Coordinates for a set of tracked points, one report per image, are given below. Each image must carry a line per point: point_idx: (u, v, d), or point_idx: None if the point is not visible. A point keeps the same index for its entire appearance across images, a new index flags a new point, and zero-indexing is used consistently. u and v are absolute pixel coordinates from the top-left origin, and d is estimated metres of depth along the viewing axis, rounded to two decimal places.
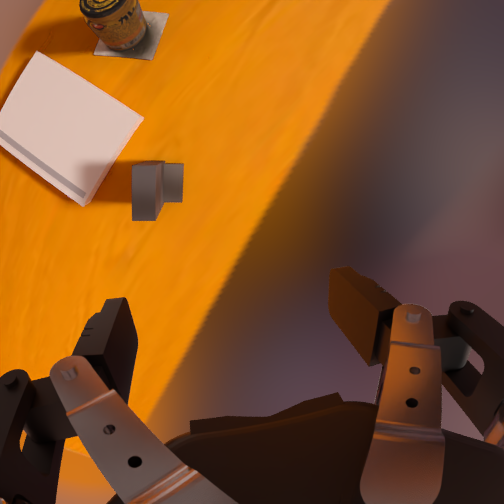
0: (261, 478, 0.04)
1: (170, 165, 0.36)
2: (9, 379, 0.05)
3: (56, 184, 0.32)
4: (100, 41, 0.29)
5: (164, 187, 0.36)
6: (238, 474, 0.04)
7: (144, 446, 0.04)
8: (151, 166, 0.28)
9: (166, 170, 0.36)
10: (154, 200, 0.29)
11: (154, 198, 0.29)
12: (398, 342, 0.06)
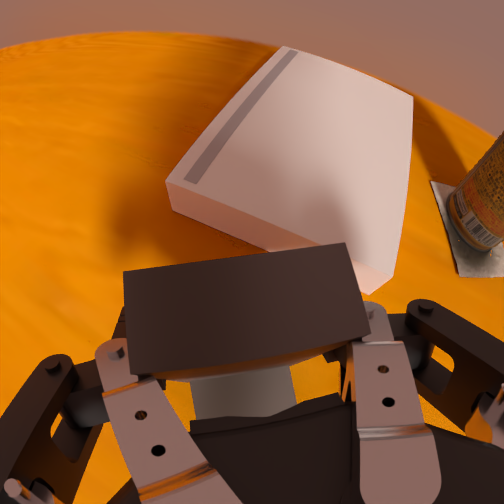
0: (261, 477, 0.04)
1: (288, 381, 0.14)
2: (52, 363, 0.06)
3: (211, 128, 0.18)
4: (448, 188, 0.22)
5: (228, 378, 0.14)
6: (238, 474, 0.04)
7: (171, 437, 0.04)
8: (363, 316, 0.07)
9: (274, 375, 0.14)
10: (222, 360, 0.06)
11: (232, 359, 0.06)
12: (359, 342, 0.06)
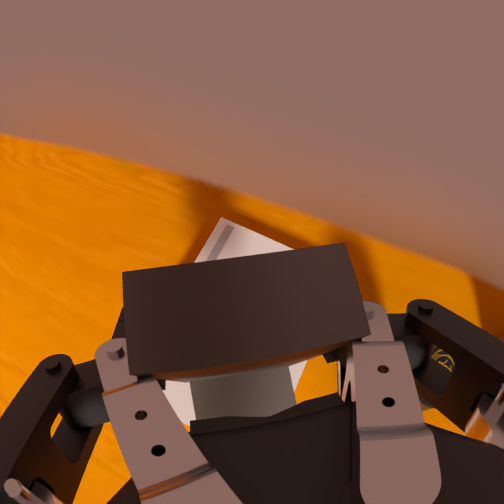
0: (261, 478, 0.04)
1: (288, 382, 0.14)
2: (52, 363, 0.06)
3: None
4: None
5: (228, 378, 0.14)
6: (238, 474, 0.04)
7: (171, 436, 0.04)
8: (363, 317, 0.07)
9: (273, 375, 0.14)
10: (222, 361, 0.06)
11: (231, 359, 0.06)
12: (359, 342, 0.06)
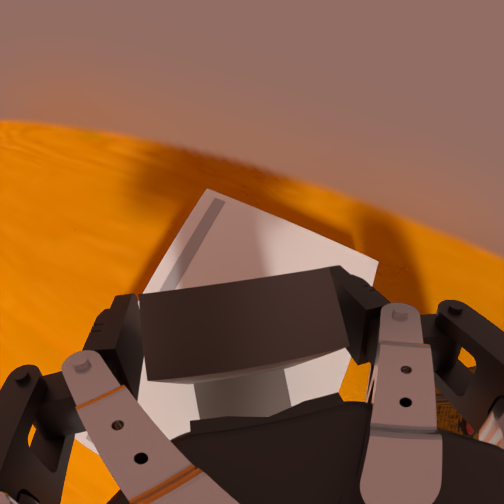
0: (261, 478, 0.04)
1: (283, 383, 0.15)
2: (20, 374, 0.06)
3: None
4: None
5: (228, 380, 0.15)
6: (238, 474, 0.04)
7: (151, 443, 0.04)
8: (343, 331, 0.08)
9: (270, 377, 0.15)
10: (224, 368, 0.07)
11: (231, 367, 0.07)
12: (387, 342, 0.06)
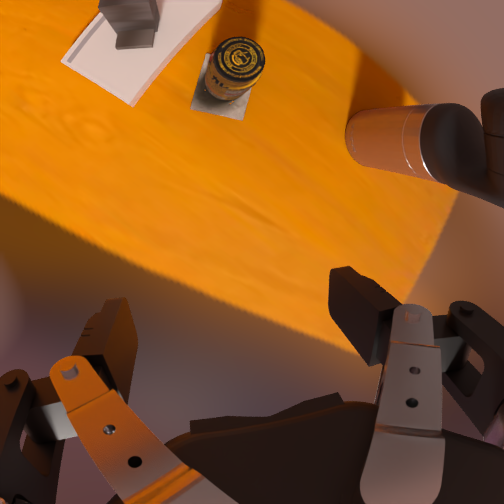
0: (261, 477, 0.04)
1: (151, 34, 0.29)
2: (10, 379, 0.05)
3: (83, 34, 0.28)
4: None
5: (131, 30, 0.28)
6: (238, 474, 0.04)
7: (144, 446, 0.04)
8: None
9: (147, 31, 0.29)
10: (116, 4, 0.20)
11: (118, 4, 0.20)
12: (398, 342, 0.06)
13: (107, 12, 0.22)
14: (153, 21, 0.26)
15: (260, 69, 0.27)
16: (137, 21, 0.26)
